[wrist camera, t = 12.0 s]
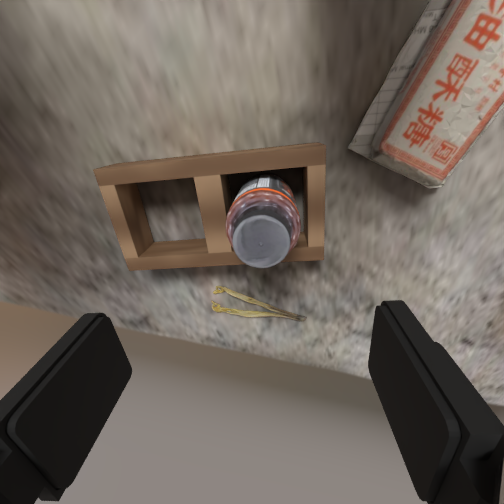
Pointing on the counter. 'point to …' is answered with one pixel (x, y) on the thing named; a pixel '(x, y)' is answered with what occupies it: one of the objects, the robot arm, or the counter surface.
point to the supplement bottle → (263, 221)
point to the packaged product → (438, 92)
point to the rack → (209, 204)
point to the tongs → (253, 313)
